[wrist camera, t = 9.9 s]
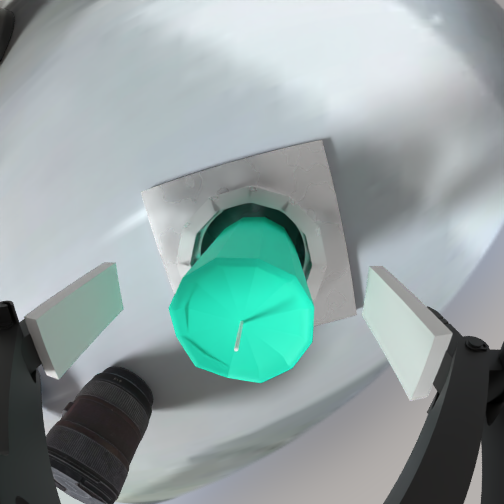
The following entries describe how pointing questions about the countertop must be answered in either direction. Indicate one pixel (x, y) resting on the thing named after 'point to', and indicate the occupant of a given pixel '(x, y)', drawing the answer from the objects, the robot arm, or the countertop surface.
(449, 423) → the robot arm
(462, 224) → the countertop surface
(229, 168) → the duct flange
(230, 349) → the candle
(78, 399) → the camera lens
